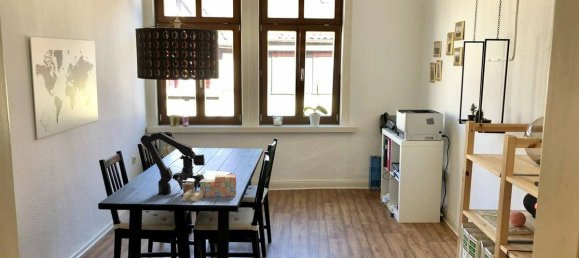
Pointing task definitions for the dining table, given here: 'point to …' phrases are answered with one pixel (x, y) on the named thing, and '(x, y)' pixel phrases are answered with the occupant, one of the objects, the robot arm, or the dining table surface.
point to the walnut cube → (188, 186)
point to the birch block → (193, 195)
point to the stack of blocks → (219, 186)
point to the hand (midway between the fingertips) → (188, 190)
